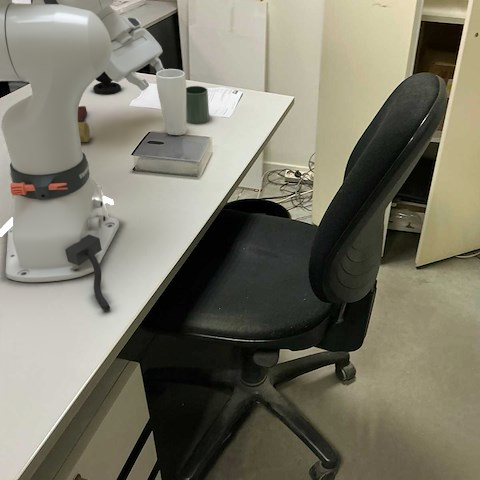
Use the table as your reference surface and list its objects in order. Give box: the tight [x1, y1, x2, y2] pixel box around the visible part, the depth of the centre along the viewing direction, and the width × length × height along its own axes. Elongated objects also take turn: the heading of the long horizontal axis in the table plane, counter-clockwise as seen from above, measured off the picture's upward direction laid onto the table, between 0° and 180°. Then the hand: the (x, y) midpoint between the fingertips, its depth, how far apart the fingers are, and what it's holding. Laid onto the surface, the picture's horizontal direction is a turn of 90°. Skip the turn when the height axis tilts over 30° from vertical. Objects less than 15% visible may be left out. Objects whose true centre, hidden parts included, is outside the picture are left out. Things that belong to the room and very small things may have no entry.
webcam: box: [92, 71, 122, 95], centre depth 157 cm, size 8×8×10 cm
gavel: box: [78, 105, 91, 143], centre depth 137 cm, size 21×5×10 cm
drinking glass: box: [155, 68, 188, 136], centre depth 134 cm, size 7×7×15 cm
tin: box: [186, 85, 210, 125], centre depth 144 cm, size 6×6×8 cm
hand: (155, 81), depth 132 cm, fingers open, 8 cm apart
